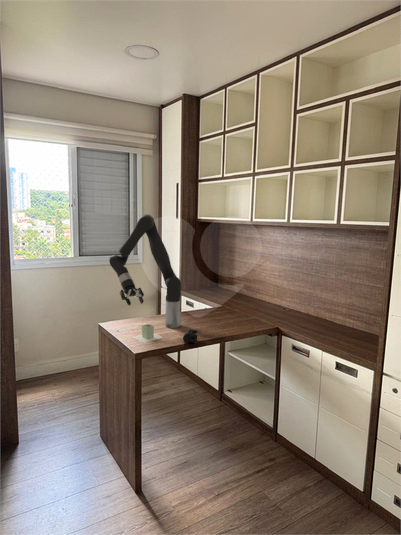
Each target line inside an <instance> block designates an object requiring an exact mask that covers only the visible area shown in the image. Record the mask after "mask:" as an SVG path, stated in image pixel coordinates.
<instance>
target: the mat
mask: <svg viewBox="0 0 401 535" xmlns="http://www.w3.org/2000/svg"><path fill="white" fill-rule="evenodd" d="M136 328H139V326H138V325H132V326H127V327H123V328H118V329H116V332H121V331H122V332H123V331H127V330H131V329H136Z"/></svg>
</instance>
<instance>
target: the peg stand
mask: <svg viewBox="0 0 401 535" xmlns="http://www.w3.org/2000/svg"><path fill="white" fill-rule="evenodd" d="M132 338H133V339H135V340H137V341H139V342H140V343H142V344H144V343H148V342H152V341H156V340H160V339H163V338H164V337H163V336H161V335H159V334H157V333H155V332H154V338H150V339H145V338H143V337H142V334H140V335H135V336H132Z"/></svg>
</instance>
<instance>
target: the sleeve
mask: <svg viewBox="0 0 401 535" xmlns="http://www.w3.org/2000/svg"><path fill="white" fill-rule="evenodd" d="M154 327H155V326H154V325H153V324H150V323H147V324H143V325H142V326H141V335H142V337H143V338H145V339H150V338H154V333H155V332H154V331H155V328H154Z"/></svg>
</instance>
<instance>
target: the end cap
mask: <svg viewBox="0 0 401 535" xmlns="http://www.w3.org/2000/svg"><path fill="white" fill-rule="evenodd" d="M182 341H183V343H185V344H186V345H188V346H196V345H197V341H198V330H197V329H192V328H188V329H186V330H185V332H184V335H183V336H182Z"/></svg>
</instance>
